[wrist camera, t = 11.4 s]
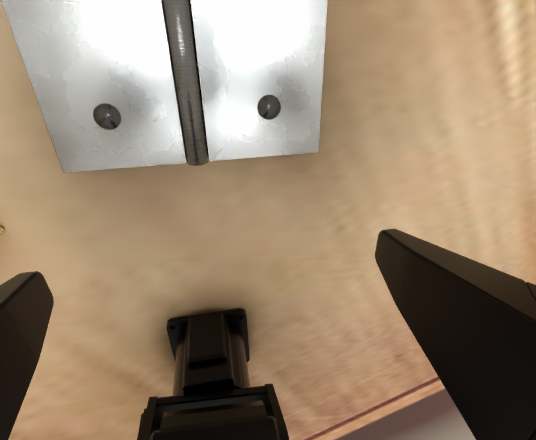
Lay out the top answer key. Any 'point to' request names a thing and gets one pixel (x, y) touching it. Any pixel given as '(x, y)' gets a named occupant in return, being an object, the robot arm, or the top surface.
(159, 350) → the top surface
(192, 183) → the top surface
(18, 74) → the top surface
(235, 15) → the hinge leaves
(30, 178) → the top surface
